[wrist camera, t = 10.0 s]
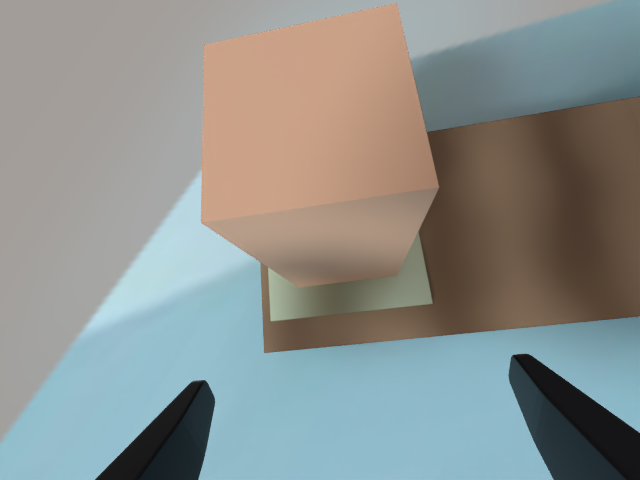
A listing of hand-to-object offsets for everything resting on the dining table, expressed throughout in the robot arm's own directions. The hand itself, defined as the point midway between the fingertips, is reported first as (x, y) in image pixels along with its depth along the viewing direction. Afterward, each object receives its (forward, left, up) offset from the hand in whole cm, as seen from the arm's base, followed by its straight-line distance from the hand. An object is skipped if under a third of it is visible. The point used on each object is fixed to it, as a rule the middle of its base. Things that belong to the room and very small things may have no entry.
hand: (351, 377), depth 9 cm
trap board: (-7, -9, -8) cm, 14 cm away
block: (+2, -6, -6) cm, 9 cm away
